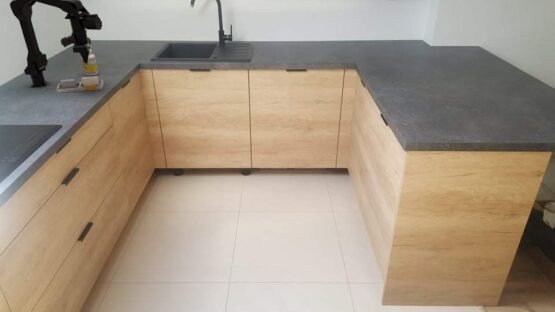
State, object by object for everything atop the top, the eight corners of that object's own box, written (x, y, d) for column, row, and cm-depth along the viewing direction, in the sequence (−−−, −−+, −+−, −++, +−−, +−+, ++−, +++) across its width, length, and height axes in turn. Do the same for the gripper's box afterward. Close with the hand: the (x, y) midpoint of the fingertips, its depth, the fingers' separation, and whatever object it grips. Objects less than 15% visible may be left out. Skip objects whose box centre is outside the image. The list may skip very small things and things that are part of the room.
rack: (59, 87, 197) (58, 82, 195) (103, 83, 202) (102, 79, 201) (57, 93, 190) (55, 88, 189) (102, 89, 195) (101, 84, 194)
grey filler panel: (63, 89, 195) (61, 80, 193) (77, 87, 197) (74, 78, 194) (62, 90, 193) (60, 81, 191) (76, 89, 194) (74, 80, 192)
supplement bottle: (83, 73, 216) (77, 49, 210) (95, 71, 220) (91, 47, 214) (87, 76, 212) (82, 52, 206) (100, 74, 216) (95, 50, 210)
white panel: (84, 87, 197) (82, 77, 195) (99, 86, 199) (97, 76, 197) (83, 88, 195) (81, 78, 193) (99, 87, 197) (97, 77, 195)
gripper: (62, 26, 190) (70, 59, 197) (56, 34, 174) (64, 70, 182) (87, 25, 193) (94, 57, 200) (84, 33, 177) (91, 68, 185)
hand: (86, 63), depth 192 cm, fingers closed
